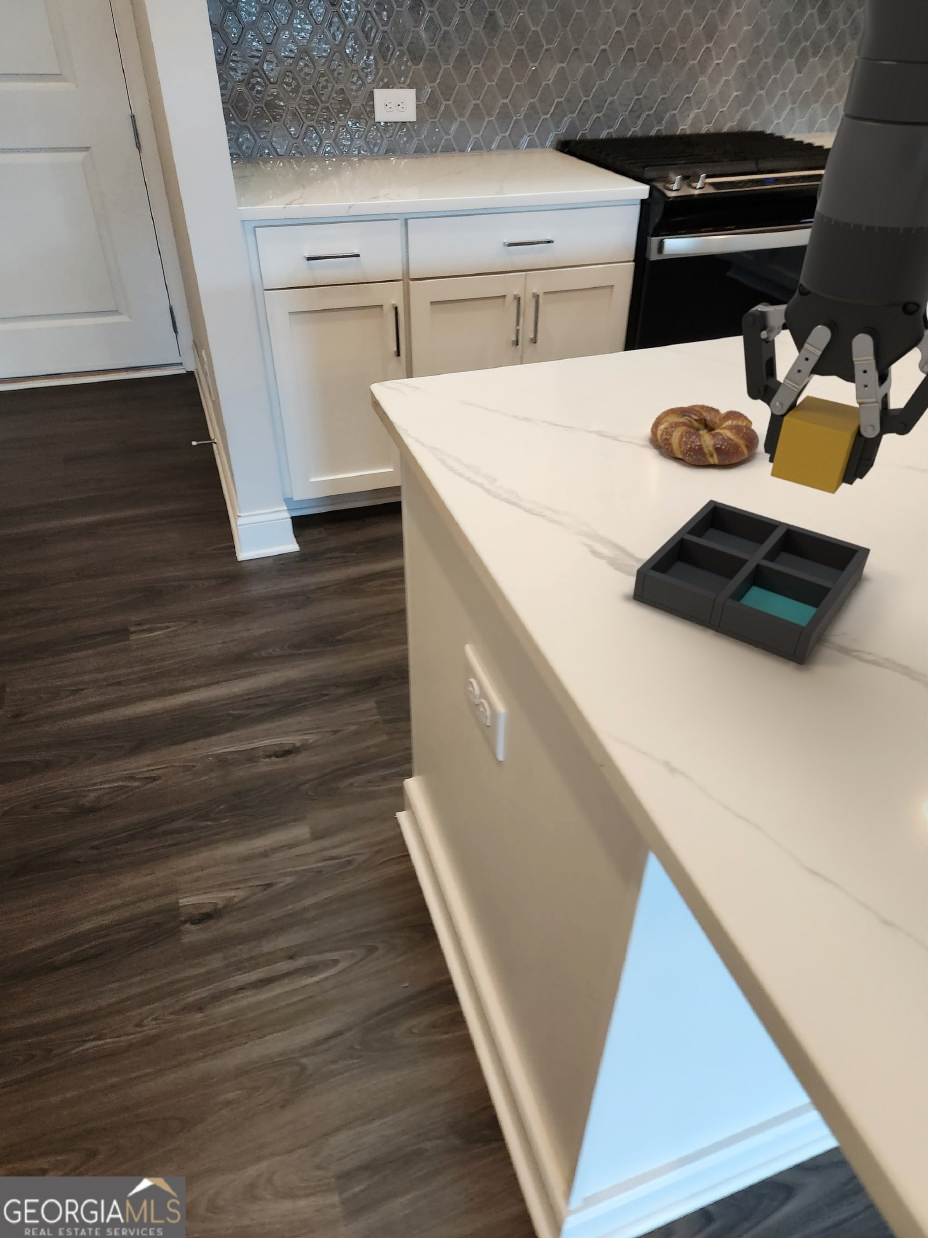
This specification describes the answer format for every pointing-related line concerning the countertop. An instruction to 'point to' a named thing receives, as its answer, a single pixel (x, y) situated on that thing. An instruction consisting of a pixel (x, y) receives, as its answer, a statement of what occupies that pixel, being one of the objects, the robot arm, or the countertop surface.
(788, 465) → the block
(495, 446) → the countertop surface
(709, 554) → the tray
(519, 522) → the countertop surface
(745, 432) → the pretzel
